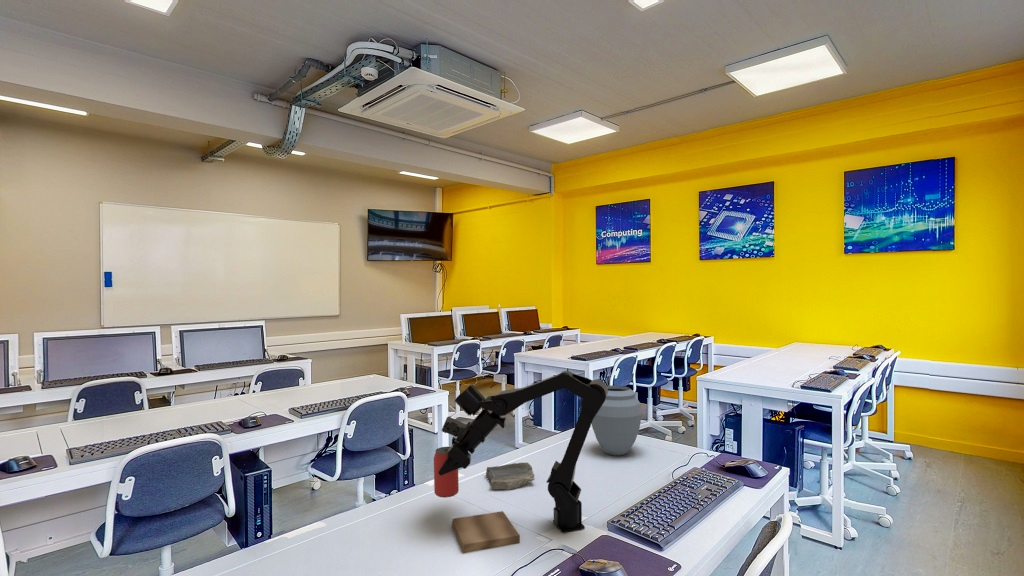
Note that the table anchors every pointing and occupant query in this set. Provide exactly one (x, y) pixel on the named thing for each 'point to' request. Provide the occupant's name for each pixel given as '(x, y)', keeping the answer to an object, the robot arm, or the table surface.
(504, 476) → the grey irregular stone
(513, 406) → the robot arm
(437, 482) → the beer can
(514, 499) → the table surface
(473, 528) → the walnut block
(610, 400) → the vase
